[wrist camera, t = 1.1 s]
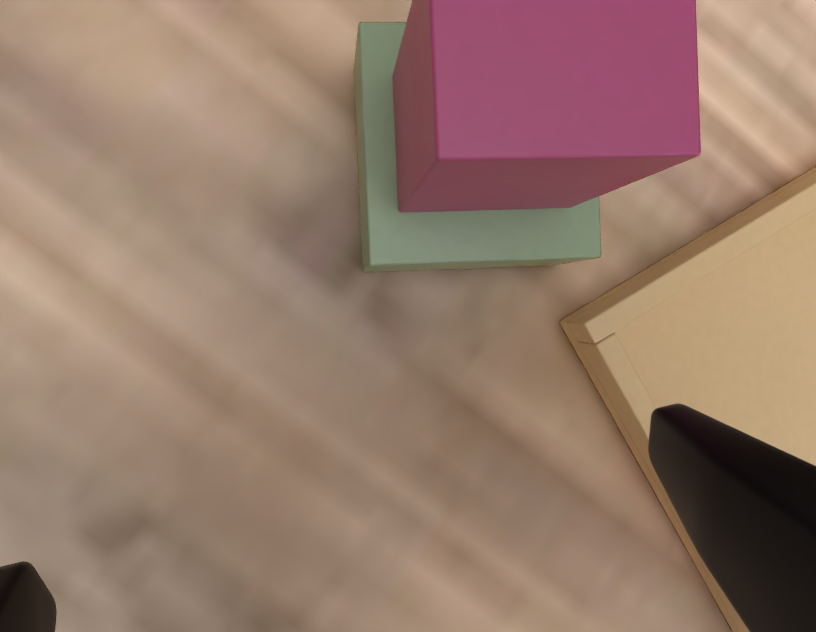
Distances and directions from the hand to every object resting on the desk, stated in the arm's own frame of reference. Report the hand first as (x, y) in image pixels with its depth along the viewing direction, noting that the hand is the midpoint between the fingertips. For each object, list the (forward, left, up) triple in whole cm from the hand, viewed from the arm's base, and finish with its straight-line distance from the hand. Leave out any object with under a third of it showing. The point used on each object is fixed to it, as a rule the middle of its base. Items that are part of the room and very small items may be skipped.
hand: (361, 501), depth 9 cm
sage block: (+4, -7, -14) cm, 16 cm away
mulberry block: (+4, -7, -10) cm, 13 cm away
